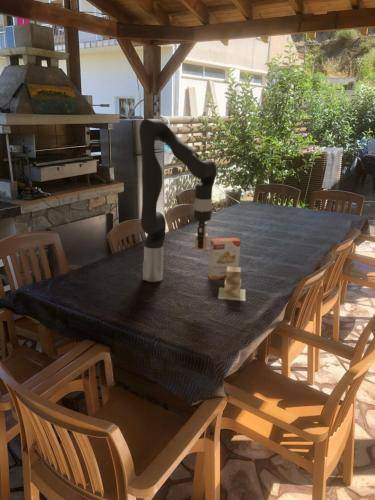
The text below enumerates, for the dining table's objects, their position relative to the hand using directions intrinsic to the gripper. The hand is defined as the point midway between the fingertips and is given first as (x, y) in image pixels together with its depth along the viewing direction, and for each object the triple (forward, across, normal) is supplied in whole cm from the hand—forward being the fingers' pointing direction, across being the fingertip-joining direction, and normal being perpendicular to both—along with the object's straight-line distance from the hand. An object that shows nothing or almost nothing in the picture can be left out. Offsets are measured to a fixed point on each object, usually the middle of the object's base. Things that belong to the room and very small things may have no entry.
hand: (201, 246), depth 181 cm
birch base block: (+22, 0, +15) cm, 26 cm away
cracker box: (+24, -20, +10) cm, 32 cm away
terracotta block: (+1, 0, 0) cm, 1 cm away
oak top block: (+16, 0, +15) cm, 22 cm away
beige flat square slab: (+23, 0, +15) cm, 28 cm away
